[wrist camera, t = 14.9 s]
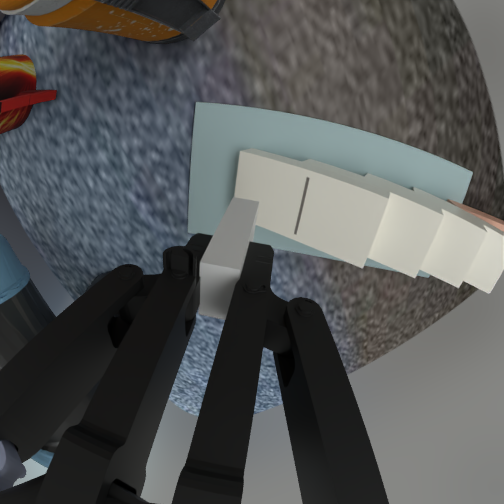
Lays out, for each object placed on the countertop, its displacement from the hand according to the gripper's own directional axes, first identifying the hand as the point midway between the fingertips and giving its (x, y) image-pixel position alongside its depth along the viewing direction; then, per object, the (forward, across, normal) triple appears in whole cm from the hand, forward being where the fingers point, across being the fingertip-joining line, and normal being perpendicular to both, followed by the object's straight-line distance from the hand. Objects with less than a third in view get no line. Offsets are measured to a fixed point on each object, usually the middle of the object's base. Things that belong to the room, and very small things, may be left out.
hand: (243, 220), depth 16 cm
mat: (+8, +7, 0) cm, 10 cm away
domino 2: (+7, +3, 0) cm, 8 cm away
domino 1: (+7, -1, 0) cm, 7 cm away
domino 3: (+7, +8, 0) cm, 11 cm away
